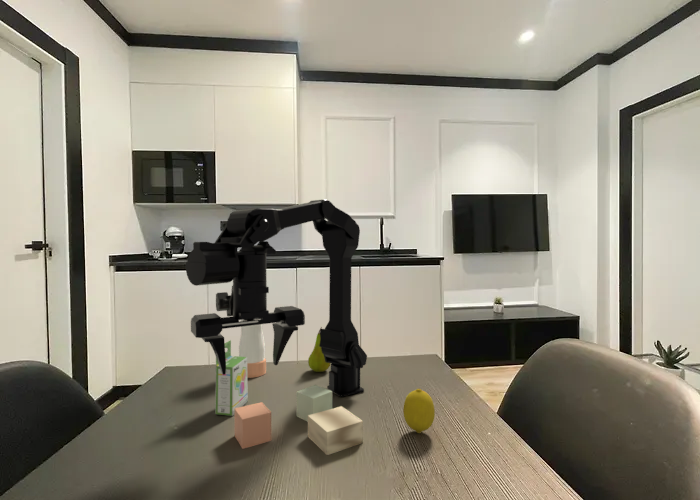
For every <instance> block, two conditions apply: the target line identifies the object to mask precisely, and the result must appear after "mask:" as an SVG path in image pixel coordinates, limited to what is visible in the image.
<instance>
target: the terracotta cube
mask: <svg viewBox="0 0 700 500" xmlns="http://www.w3.org/2000/svg"><path fill="white" fill-rule="evenodd" d="M234 413H235V414H234V437H235V439H236V440H237V442H238V444H239V445H240V447H241V449H242V450H244V449H247V448H251V447H254V446H258V445H261V444H265V443H268V442H272V411H271V409H269V408H268V407H267V406H266V405H265V403H264V402H262V401H261V402H257V403H251V404H247V405H244V406H243V407H238V408H234Z"/></svg>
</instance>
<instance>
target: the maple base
mask: <svg viewBox="0 0 700 500" xmlns="http://www.w3.org/2000/svg"><path fill="white" fill-rule="evenodd" d="M307 437H308V438H309V440H311V441H312V442H313V443H314V444H315V445H316V446H317V447H318V448H319V449H320V450H321V451H322V452H323V453H324V454H325V455H326V456H330V455H331V454H334V453H337V452H340V451H344V450H347V449H349V448H352V447H355V446H358V445H361V444H363V443H364V421H363V420H362V419H361V418H359V417H358V416H357V415H355V414H353V413H352V412H351V411H349V410H348V409H346V408H345V407H344V406H342V405H340V406H337V407H332V409H330V410H326V411H322V412H319V413H315V414H311V415H308V422H307Z"/></svg>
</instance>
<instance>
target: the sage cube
mask: <svg viewBox="0 0 700 500" xmlns="http://www.w3.org/2000/svg"><path fill="white" fill-rule="evenodd" d="M330 409H333V392H332V391H331V390H329V389H328V388H325V387H323V386H320V385H318V384H313V385H310V386H308V387H306V388H302V389H300V390H297V391H296V417H297V418H299V419H301V420H303V421H306V422H307V423H308V415H311V414H315V413H319V412H322V411H326V410H330Z"/></svg>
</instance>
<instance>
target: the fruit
mask: <svg viewBox="0 0 700 500" xmlns="http://www.w3.org/2000/svg"><path fill="white" fill-rule="evenodd" d="M321 329H323V327H322V326H320V329H319V330H318V332H317V334H316V339H315V344H314V347H313V350H312V351H311V353H310V355H309V357H308V360H307V361H308V367H309V368H310V369H311V370H312V371H314V372H316V373H323V372H326V371H327V370H328V369H329V368H330V367H331V363H326V362H325V358H324V354H323V353H322V351H321V347H319V345H320V330H321Z"/></svg>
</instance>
